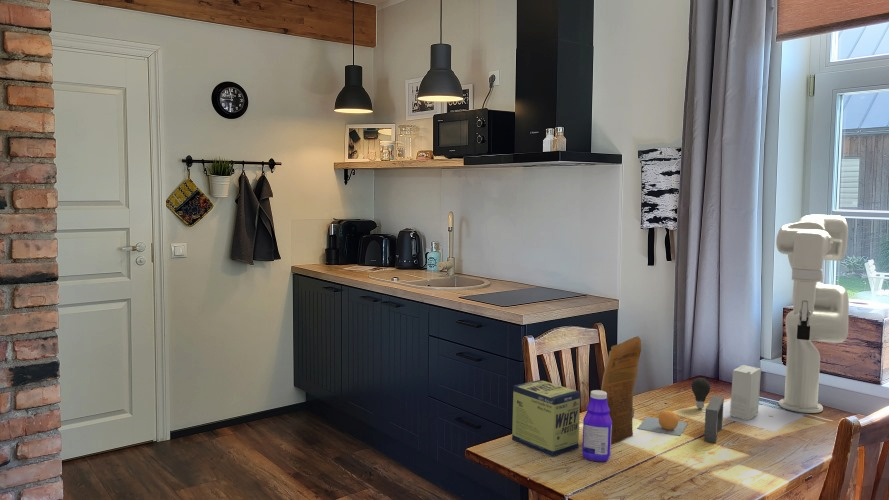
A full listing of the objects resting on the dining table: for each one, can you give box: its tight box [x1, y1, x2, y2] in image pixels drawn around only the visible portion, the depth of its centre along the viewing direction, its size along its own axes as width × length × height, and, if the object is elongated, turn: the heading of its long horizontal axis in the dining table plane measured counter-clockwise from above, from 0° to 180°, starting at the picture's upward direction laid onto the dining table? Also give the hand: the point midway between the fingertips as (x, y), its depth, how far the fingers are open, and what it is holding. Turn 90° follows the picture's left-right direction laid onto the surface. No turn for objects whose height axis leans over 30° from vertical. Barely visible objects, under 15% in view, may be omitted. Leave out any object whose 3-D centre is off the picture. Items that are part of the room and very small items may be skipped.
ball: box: [658, 410, 679, 430], centre depth 203 cm, size 6×6×6 cm
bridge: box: [703, 395, 725, 444], centre depth 198 cm, size 3×14×9 cm, turn 152°
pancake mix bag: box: [600, 335, 642, 445], centre depth 194 cm, size 7×19×28 cm, turn 133°
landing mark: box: [636, 416, 688, 437], centre depth 205 cm, size 12×12×1 cm
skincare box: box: [729, 364, 762, 421], centre depth 216 cm, size 8×6×15 cm
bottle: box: [581, 389, 612, 462], centre depth 180 cm, size 7×6×17 cm
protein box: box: [511, 379, 581, 457], centre depth 189 cm, size 10×16×16 cm
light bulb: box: [691, 377, 711, 410], centre depth 222 cm, size 6×6×10 cm
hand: (803, 339), depth 200 cm, fingers closed
